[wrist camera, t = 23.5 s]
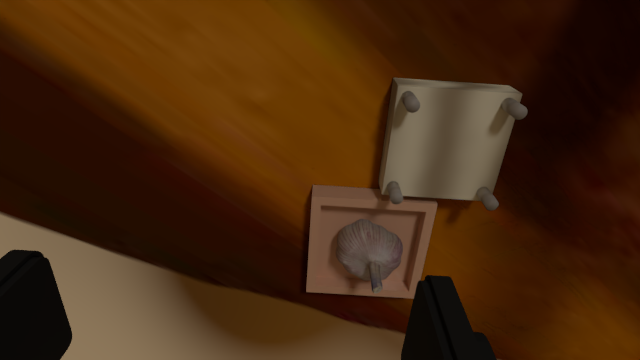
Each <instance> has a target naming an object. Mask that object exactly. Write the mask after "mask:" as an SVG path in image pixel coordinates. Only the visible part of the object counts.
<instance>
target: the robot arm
mask: <svg viewBox="0 0 640 360" xmlns="http://www.w3.org/2000/svg"><path fill="white" fill-rule="evenodd" d="M71 340H72V331H71V328H70V325H69V321H68V318H67V315H66V312H65V309H64V306H63V303H62V300H61V297H60V294H59V290H58V287H57V284H56V281H55V278H54V274H53V271H52V268H51V266H50V262H49V260H48V259H47V258H44V256H43V254H42V253H41V252H38V251H27V250H12V251H10V252H8V253H7V254H6V255H5V256H3V257H2V258H1V259H0V360H60V359H61V357H62V356H63V355H64V353H65V352H66V350H67V349H68V347H69V345H70V343H71ZM401 360H497V359H496V357H495V355H494V353H493V350H492V348H491V346H490V343H489V341H488V340H487V338H486V336H485V335H484V334H483V333H479V332H473V331H472V328H471V326H470V323H469V321H468V318H467V316H466V313H465V311H464V308H463V306H462V303H461V301H460V298H459V296H458V293H457V291H456V288H455V286H454V283H453V281H452V279H451V278H450V277H448V276H432V275H427V276H426V277H425V280H424V281H418V283H417V287H416V291H415V296H414V300H413V304H412V309H411V313H410V318H409V322H408V326H407V331H406V335H405V340H404V344H403V349H402V354H401Z"/></svg>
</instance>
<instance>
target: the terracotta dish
mask: <svg viewBox="0 0 640 360" xmlns="http://www.w3.org/2000/svg"><path fill="white" fill-rule="evenodd" d="M437 205H438V204H437V202H436V199H435V198H429V197H413V196H403V201H402V202H401V203H400V204H393V203H392V202H391V201H390V197H389V195H382V194H381V190H380V189H371V188H355V187H339V186H324V185H313V188H312V202H311V219H310V236H309V253H308V270H307V286H306V292H315V293H332V294H348V295H364V296H381V297H397V298H413V299H414V296H415V291H416V287H417V283H418V281H420V279H421V275H422V271H423V266H424V262H425V258H426V253H427V249H428V245H429V240H430V236H431V232H432V227H433V223H434V218H435V214H436V210H437ZM359 219H366V220H369V221H371V222H372V223H374V224H377V225H380V226H382V227H384V228H385V229H386V230H387V231H389V232H392V233H394V234H396V235H397V236H398V237H399V238H400V240H401V242H402V244H403V253H402V256H401V263H400V265H399V266H398V267H397V268H396V269H395V270H393V271H392V272H391V274H390V275H389V276H388V277H387V278H386V279H384V280H381V281H382V286H383V288H382V290H381V291H380V292H379V293H377V294H375V293H373V292H372V287H371V280H369V281H364V280H361V279H359V278H358V277H357V276H355V275H354V274H351V273H349V272H347V271H346V270H345V268H344V266H343V265H342V264H341V263H340V262H339V261H338V259H337V257H336V247H337V236H338V234H339V232H340V231H341V230H342V229H343V228H344V227H345V226H346V225H349V224H352V223H354V222H355V221H357V220H359Z"/></svg>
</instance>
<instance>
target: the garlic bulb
mask: <svg viewBox="0 0 640 360" xmlns="http://www.w3.org/2000/svg"><path fill="white" fill-rule="evenodd" d="M402 253H403V244H402V242H401V240H400V238H399V237H398V236H397V235H396V234H394V233H392V232H389V231H387V230H386V229H385V228H384V227H382V226H380V225H377V224H374V223H372V222H371V221H369V220H366V219H359V220H357V221H355V222H354V223H352V224H349V225H346V226H345V227H344V228H343V229H342V230H341V231H340V232H339V234H338V236H337V247H336V257H337V259H338V261H339V262H340V263H341V264H342V265H343V266H344V268H345V270H346V271H347V272H349V273H351V274H354V275H355V276H357V277H358V278H359V279H361V280H364V281H369V280H371V287H372V292H373V293H375V294H377V293H379V292H380V291H381V290H382V288H383V286H382V281H381V280H384V279H386V278H387V277H388V276H389V275H390V274H391V272H392V271H393V270H395V269H396V268H397V267H398V266H399V265H400V263H401V256H402Z"/></svg>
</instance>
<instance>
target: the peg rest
mask: <svg viewBox="0 0 640 360" xmlns="http://www.w3.org/2000/svg"><path fill="white" fill-rule="evenodd" d="M521 97H522V93H520V92H519V91H517V90H515V89H514V88H512V87H510V86H509V85H494V84H479V83H464V82H449V81H434V80H419V79H404V78H393V83H392V90H391V97H390V104H389V111H388V118H387V125H386V132H385V138H384V145H383V152H382V159H381V166H380V173H379V180H378V181H379V186H380V190H381V194H382V195H389V197H390V201H391V202H392V203H393V204H400V203H401V202H402V201H403V196H413V197H429V198H444V199H460V200H476V201H482V203H483V204H484V206H485V207H486V209H487V210H495V209H496V208H497V207H498V205H499V203H498V201H497V200H496V198H495V197H494V196H493V191H494V187H495V184H496V181H497V177H498V174H499V171H500V167H501V164H502V161H503V157H504V154H505V151H506V147H507V144H508V141H509V137H510V134H511V131H512V127H513V124H514V121H515V119H517V120H520V119H523V118H524V117H525V116H526V115H527V112H528V111H527V108H526V107H525V106H523V105H522V104H520V101H521Z"/></svg>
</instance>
